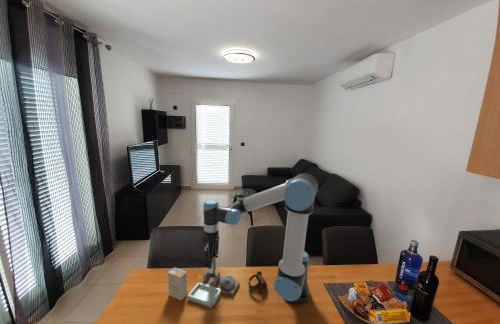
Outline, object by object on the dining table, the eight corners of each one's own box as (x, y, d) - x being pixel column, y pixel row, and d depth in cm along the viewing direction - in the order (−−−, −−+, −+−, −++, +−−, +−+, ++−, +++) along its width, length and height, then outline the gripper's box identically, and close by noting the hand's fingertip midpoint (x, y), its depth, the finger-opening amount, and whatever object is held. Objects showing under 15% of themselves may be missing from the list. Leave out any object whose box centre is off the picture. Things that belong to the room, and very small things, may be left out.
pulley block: (239, 284, 116) (239, 274, 115) (232, 296, 107) (232, 286, 106) (209, 275, 121) (209, 266, 120) (201, 286, 113) (201, 276, 112)
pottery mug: (269, 296, 109) (262, 286, 106) (252, 300, 111) (245, 290, 108) (268, 275, 120) (262, 265, 117) (253, 279, 122) (247, 270, 119)
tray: (221, 293, 109) (221, 289, 108) (212, 308, 100) (212, 303, 100) (198, 286, 113) (198, 282, 113) (187, 299, 104) (187, 295, 104)
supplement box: (187, 294, 108) (187, 271, 105) (181, 301, 103) (180, 277, 101) (175, 289, 111) (174, 266, 109) (168, 295, 107) (167, 272, 104)
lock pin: (217, 274, 116) (216, 256, 114) (213, 278, 113) (213, 260, 111) (210, 272, 117) (210, 254, 116) (207, 277, 114) (207, 258, 112)
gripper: (212, 222, 119) (213, 260, 123) (196, 235, 105) (198, 278, 108) (224, 224, 117) (225, 263, 121) (210, 238, 102) (211, 282, 106)
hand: (212, 270), depth 115 cm, fingers closed on lock pin, 3 cm apart
